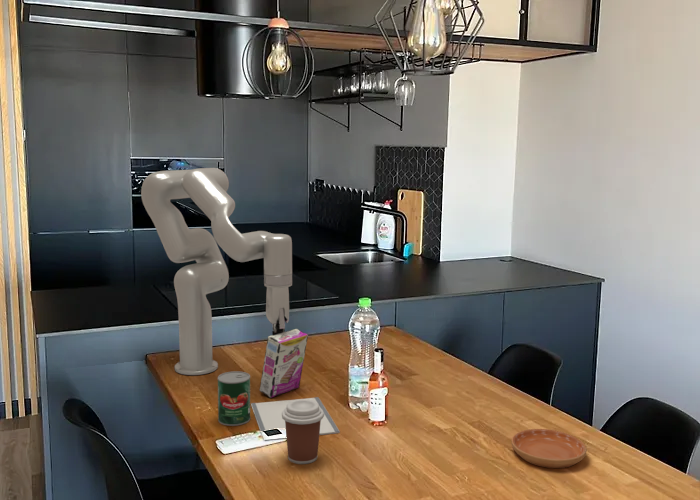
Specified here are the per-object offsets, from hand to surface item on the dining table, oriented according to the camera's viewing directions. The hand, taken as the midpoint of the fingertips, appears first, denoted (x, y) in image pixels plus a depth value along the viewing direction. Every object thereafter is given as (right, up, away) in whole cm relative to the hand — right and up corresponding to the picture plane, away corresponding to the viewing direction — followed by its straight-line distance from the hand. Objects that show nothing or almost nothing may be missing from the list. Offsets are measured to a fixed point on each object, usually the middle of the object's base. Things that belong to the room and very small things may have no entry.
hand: (278, 345), depth 188 cm
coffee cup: (+9, -19, -39) cm, 44 cm away
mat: (+6, -16, -18) cm, 25 cm away
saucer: (+64, -20, -36) cm, 75 cm away
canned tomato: (-9, -16, -19) cm, 26 cm away
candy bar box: (0, -12, 0) cm, 12 cm away
